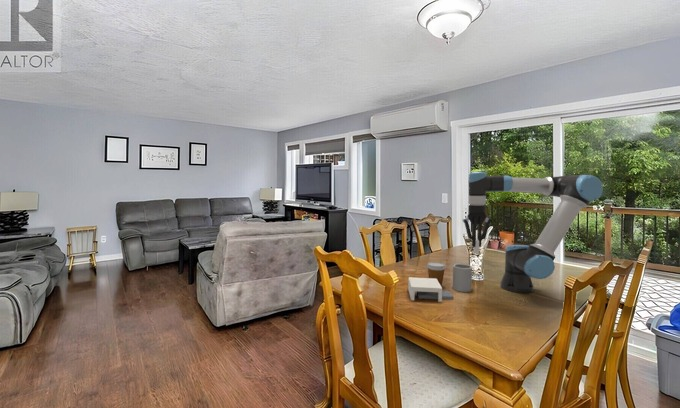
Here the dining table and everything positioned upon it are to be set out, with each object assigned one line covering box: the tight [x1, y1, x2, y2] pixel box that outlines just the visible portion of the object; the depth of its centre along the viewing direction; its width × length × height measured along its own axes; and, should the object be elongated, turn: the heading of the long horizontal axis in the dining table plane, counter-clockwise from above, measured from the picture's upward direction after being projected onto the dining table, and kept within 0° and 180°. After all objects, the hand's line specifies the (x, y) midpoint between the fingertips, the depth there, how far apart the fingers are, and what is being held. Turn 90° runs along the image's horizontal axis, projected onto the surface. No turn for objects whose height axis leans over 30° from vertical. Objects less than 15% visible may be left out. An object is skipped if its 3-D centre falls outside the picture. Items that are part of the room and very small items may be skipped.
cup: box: [452, 263, 473, 293], centre depth 166 cm, size 9×9×12 cm
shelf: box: [407, 276, 443, 303], centre depth 156 cm, size 14×15×6 cm
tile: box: [417, 290, 454, 300], centre depth 156 cm, size 16×8×2 cm, turn 87°
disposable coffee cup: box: [426, 261, 447, 288], centre depth 170 cm, size 10×10×12 cm
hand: (476, 253), depth 153 cm, fingers closed
